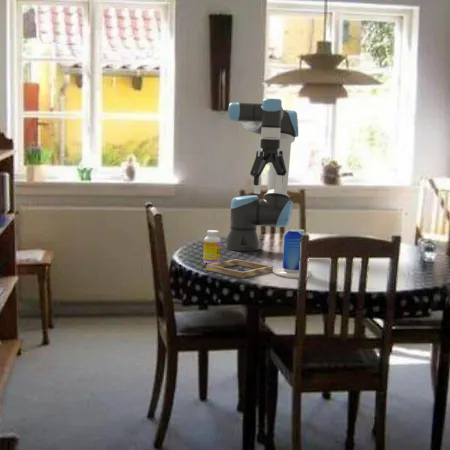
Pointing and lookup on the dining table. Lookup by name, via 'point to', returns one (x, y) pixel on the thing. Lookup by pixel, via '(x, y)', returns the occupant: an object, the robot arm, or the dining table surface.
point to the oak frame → (258, 267)
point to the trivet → (282, 273)
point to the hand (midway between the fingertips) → (267, 192)
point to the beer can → (292, 250)
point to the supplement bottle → (212, 247)
